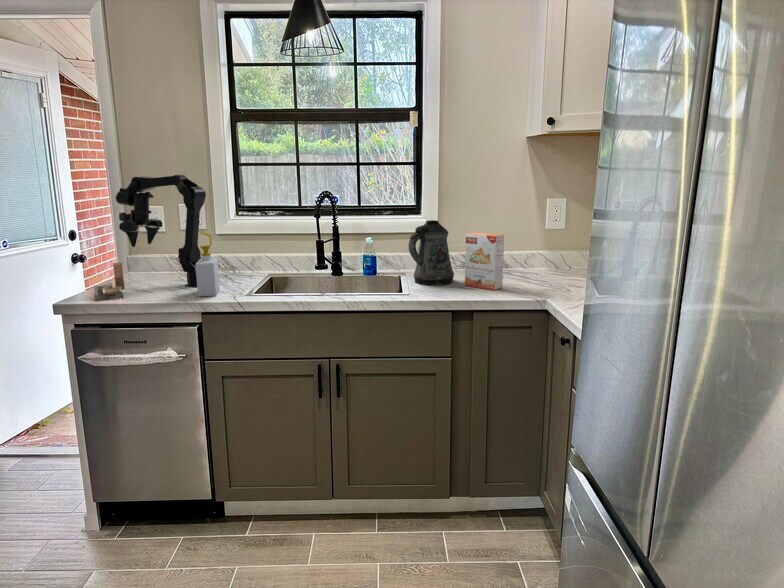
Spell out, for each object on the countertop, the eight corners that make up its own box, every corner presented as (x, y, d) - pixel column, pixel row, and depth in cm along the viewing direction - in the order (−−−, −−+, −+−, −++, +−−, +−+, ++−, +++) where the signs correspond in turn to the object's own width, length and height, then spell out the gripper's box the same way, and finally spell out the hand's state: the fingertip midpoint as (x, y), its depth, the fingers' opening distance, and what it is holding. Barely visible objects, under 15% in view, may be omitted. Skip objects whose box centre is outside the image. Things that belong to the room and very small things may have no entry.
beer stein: (459, 279, 238) (460, 219, 233) (441, 288, 222) (442, 224, 216) (423, 276, 246) (423, 218, 240) (403, 285, 229) (403, 222, 223)
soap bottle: (202, 290, 223) (197, 230, 217) (220, 289, 224) (215, 229, 219) (197, 297, 211) (192, 234, 206) (216, 296, 212) (211, 233, 207)
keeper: (112, 292, 216) (111, 277, 215) (113, 295, 211) (111, 280, 209) (94, 293, 214) (93, 279, 212) (95, 297, 208) (93, 282, 207)
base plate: (122, 293, 218) (122, 291, 218) (123, 298, 210) (123, 295, 210) (94, 296, 214) (94, 293, 214) (94, 301, 206) (94, 298, 206)
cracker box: (464, 286, 226) (465, 233, 222) (473, 283, 231) (474, 231, 226) (494, 290, 217) (496, 235, 212) (502, 288, 221) (504, 234, 217)
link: (114, 295, 209) (111, 268, 207) (104, 295, 209) (100, 268, 207) (126, 288, 221) (123, 262, 219) (117, 288, 221) (114, 262, 219)
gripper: (141, 203, 243) (141, 239, 247) (107, 206, 226) (108, 245, 230) (163, 207, 240) (163, 243, 244) (130, 210, 223) (131, 249, 227)
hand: (141, 245), depth 237 cm, fingers open, 9 cm apart
